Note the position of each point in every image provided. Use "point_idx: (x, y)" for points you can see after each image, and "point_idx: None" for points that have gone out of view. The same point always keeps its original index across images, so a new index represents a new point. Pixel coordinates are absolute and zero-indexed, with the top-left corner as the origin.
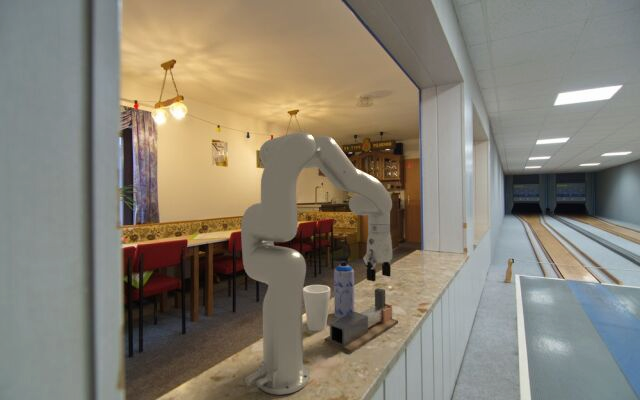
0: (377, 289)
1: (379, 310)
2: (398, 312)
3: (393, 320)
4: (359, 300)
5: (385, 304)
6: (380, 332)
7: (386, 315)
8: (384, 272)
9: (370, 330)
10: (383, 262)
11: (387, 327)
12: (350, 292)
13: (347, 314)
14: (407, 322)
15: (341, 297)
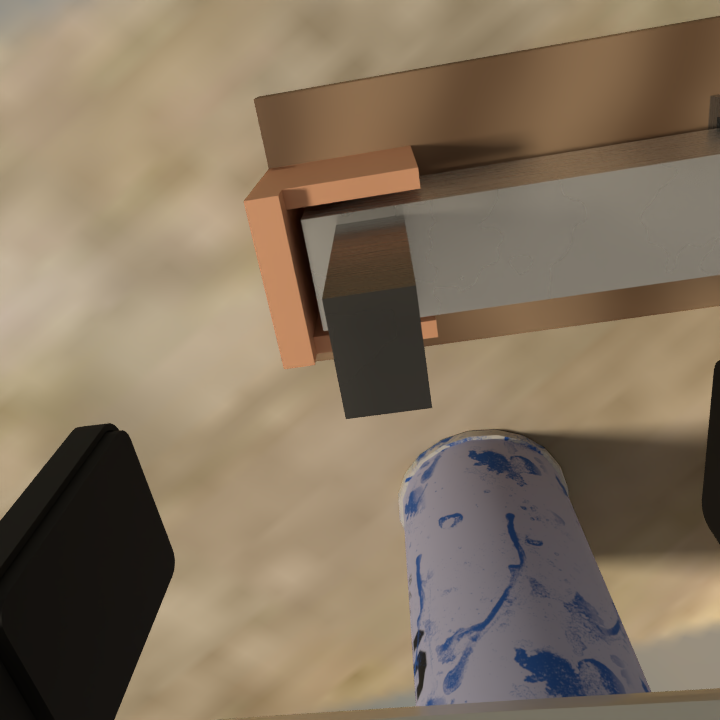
0: (403, 381)
1: (478, 195)
2: (61, 264)
3: (291, 130)
4: (175, 610)
5: (294, 260)
6: (596, 38)
7: (376, 161)
8: (138, 564)
9: (649, 118)
10: (580, 696)
11: (465, 61)
12: (544, 594)
13: (529, 458)
14: (160, 48)
15: (608, 595)
